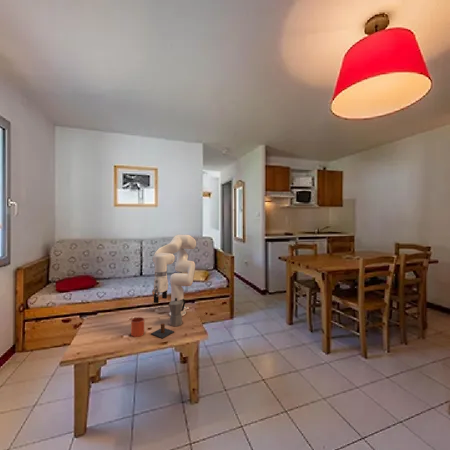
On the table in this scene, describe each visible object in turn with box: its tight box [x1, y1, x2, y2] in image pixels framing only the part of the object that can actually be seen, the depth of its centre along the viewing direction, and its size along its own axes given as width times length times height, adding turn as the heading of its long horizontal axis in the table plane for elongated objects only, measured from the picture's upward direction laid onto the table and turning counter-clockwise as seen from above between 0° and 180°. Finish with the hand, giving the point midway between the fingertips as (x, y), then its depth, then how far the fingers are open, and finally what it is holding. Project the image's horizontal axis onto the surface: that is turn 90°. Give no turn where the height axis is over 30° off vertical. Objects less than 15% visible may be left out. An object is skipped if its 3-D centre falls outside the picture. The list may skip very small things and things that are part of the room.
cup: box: [130, 316, 145, 338], centre depth 154 cm, size 8×8×9 cm
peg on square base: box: [150, 323, 175, 340], centre depth 155 cm, size 10×10×6 cm
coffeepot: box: [168, 298, 186, 327], centre depth 171 cm, size 15×9×18 cm, turn 144°
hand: (160, 300), depth 157 cm, fingers open, 9 cm apart
